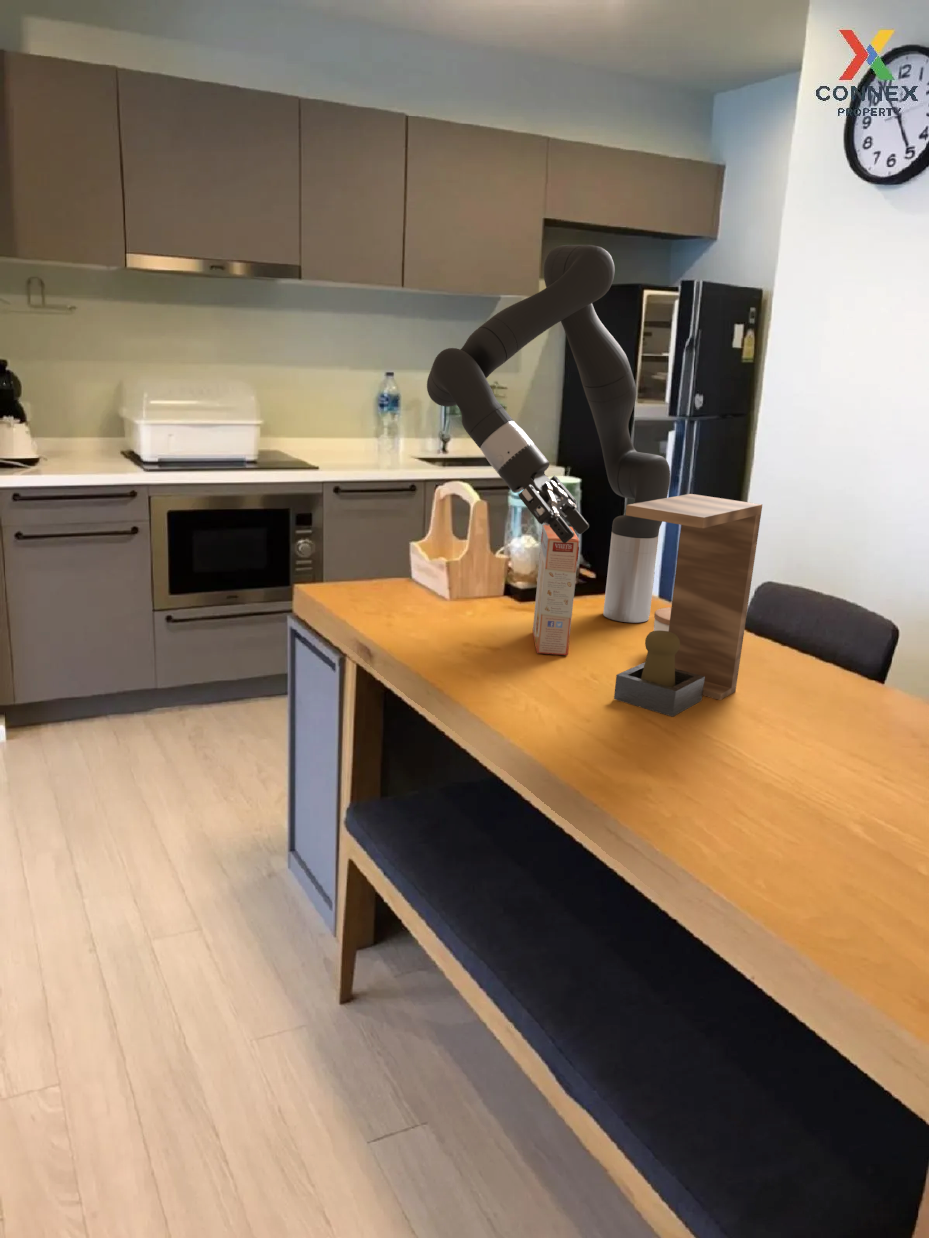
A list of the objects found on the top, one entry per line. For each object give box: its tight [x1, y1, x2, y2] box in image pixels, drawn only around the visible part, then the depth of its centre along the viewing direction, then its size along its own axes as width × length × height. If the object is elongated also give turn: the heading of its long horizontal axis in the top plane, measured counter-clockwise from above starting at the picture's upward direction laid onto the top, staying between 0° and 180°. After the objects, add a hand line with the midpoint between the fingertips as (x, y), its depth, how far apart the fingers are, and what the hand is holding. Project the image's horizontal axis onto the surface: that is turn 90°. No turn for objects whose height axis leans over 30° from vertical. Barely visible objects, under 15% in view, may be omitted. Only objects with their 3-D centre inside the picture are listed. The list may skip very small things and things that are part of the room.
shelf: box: [625, 493, 763, 701], centre depth 149 cm, size 21×12×30 cm, turn 142°
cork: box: [641, 630, 680, 687], centre depth 150 cm, size 6×6×11 cm
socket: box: [613, 661, 705, 717], centre depth 151 cm, size 10×10×4 cm
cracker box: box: [532, 524, 581, 656], centre depth 174 cm, size 14×6×21 cm, turn 179°
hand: (577, 535), depth 155 cm, fingers open, 8 cm apart
